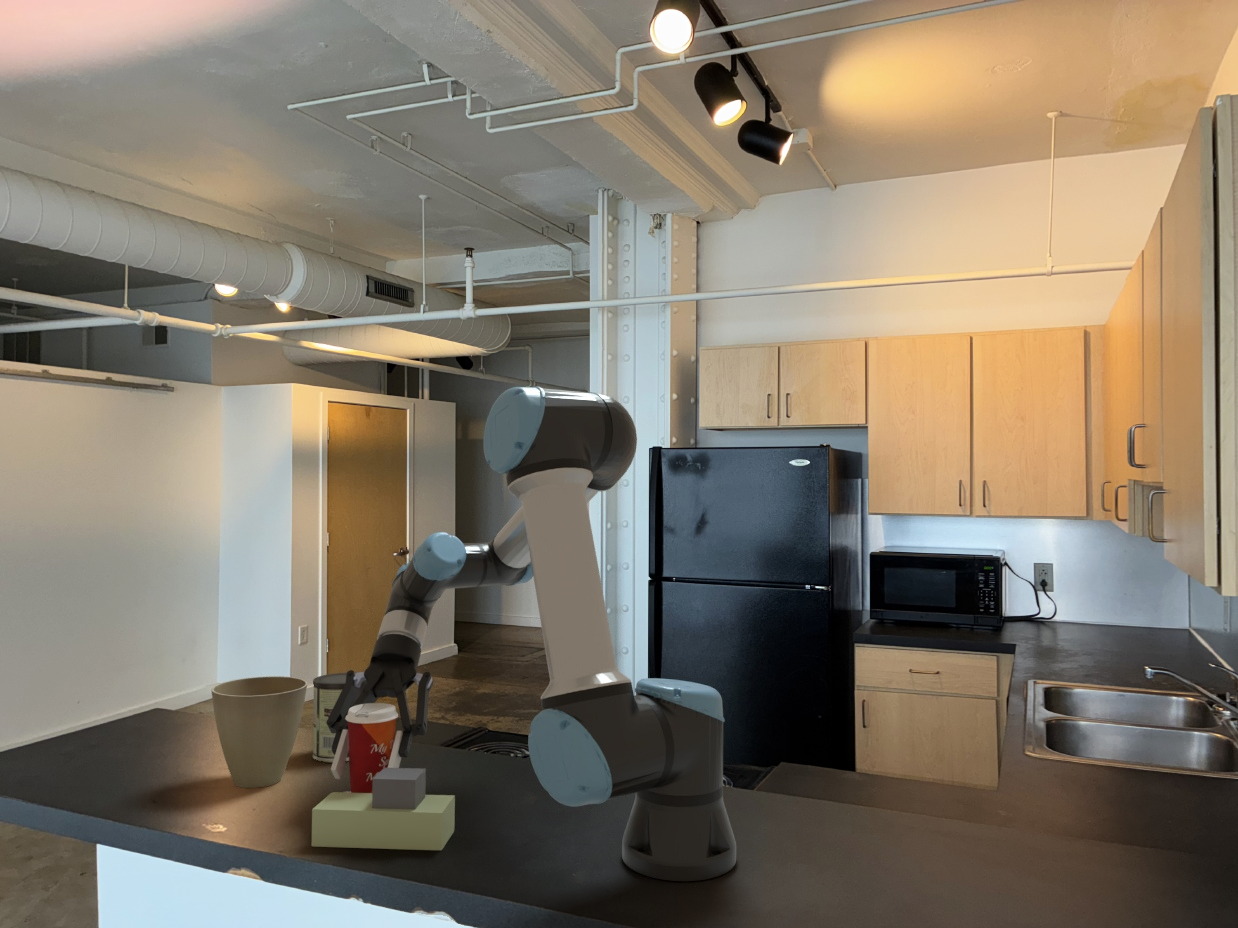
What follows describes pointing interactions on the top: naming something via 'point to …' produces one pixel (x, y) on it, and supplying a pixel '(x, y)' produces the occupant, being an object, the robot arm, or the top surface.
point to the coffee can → (327, 712)
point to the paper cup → (369, 742)
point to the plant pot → (258, 726)
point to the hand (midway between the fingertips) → (363, 774)
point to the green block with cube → (386, 815)
